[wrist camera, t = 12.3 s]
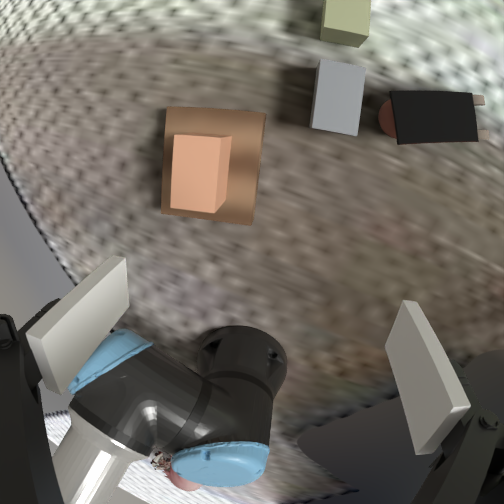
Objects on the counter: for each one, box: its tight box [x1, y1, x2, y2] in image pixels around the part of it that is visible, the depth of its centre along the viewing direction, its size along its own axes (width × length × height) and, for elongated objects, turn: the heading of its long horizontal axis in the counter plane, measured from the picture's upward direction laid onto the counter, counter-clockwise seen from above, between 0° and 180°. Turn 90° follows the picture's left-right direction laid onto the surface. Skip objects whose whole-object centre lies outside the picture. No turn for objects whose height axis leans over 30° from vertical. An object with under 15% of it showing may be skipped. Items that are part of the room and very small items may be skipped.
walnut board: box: [161, 107, 266, 226], centre depth 39 cm, size 14×12×3 cm
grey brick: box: [309, 59, 366, 136], centre depth 33 cm, size 8×5×6 cm, turn 174°
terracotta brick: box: [170, 133, 232, 213], centre depth 35 cm, size 8×5×6 cm, turn 174°
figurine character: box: [378, 91, 489, 145], centre depth 31 cm, size 7×8×15 cm
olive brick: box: [320, 0, 371, 48], centre depth 28 cm, size 8×5×6 cm, turn 174°
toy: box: [151, 451, 202, 491], centre depth 64 cm, size 12×11×15 cm
